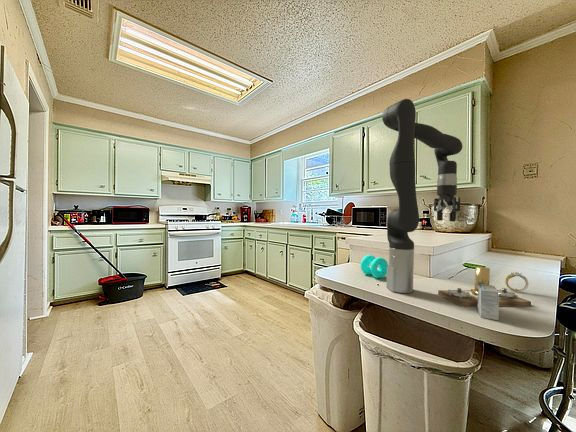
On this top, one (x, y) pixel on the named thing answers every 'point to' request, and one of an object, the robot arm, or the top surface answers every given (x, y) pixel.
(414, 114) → the robot arm
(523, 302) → the gear board
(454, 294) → the steel gears
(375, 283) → the top surface
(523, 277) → the bracelet
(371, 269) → the donuts
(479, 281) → the gold metal cylinder
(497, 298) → the medicine box
